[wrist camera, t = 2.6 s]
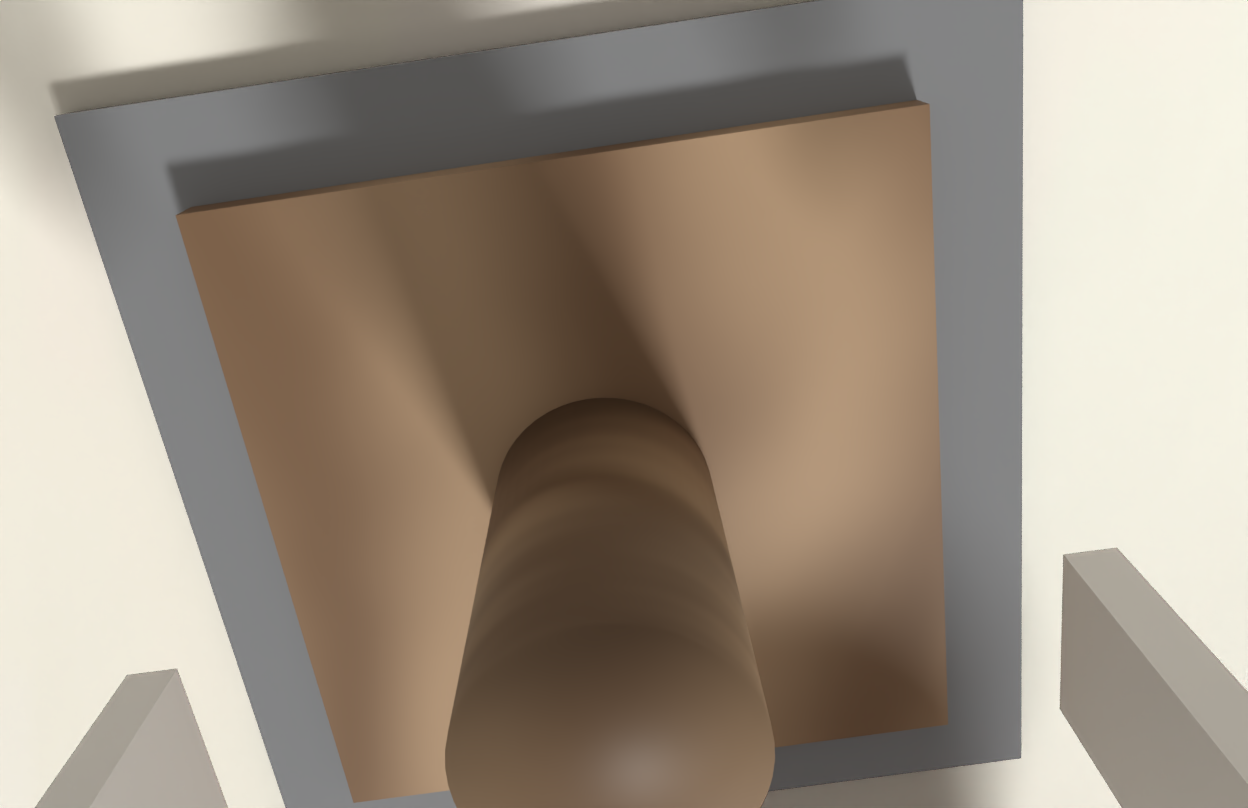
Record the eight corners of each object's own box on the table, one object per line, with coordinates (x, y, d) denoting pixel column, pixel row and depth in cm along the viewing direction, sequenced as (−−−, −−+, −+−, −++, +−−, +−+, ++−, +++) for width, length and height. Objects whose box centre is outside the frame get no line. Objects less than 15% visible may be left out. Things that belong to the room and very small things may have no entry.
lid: (360, 778, 25) (248, 1158, 17) (190, 206, 20) (-91, 355, 12) (937, 702, 25) (1107, 1053, 16) (916, 100, 20) (1150, 175, 11)
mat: (305, 837, 26) (300, 852, 26) (66, 113, 20) (54, 115, 19) (1013, 744, 26) (1021, 758, 25) (1012, -29, 19) (1022, -30, 19)
